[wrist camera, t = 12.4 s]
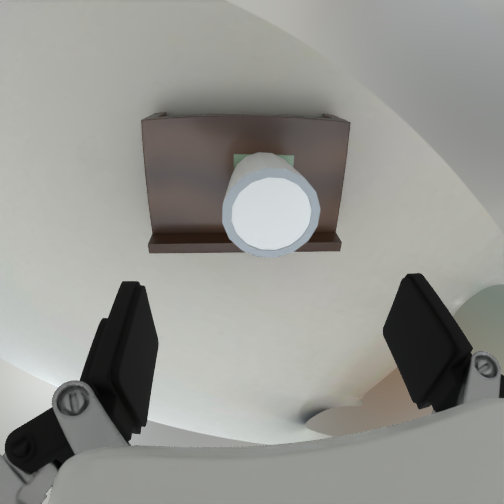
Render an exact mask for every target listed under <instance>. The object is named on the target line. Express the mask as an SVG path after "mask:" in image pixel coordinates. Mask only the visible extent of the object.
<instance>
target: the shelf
mask: <svg viewBox="0 0 504 504" xmlns="http://www.w3.org/2000/svg"><path fill="white" fill-rule="evenodd" d="M141 124H142V140H143V153H144V164H145V175H146V185H147V194H148V203H149V211H150V219H151V226H152V233H153V234H152V236H151V239H150V241H149V243H148V247H149V253H223V252H245V251H242V250H241V249H240V248H239V247H238V246H236V245H235V244H234V243H233V242H232V241H231V240H230V239H229V237H228V235H227V233H226V230H225V228H224V226H223V223H222V210H223V202H224V199H225V195H226V192H227V189H228V185H229V182H230V179H231V176H232V173H233V171H234V169H235V167H236V165H237V164H238V163H239V162H240V161H242V160H243V159H244V158H245V157H246V156H249V155H252V154H255V153H258V152H265V153H273V154H275V155H277V156H279V157H281V158H283V159H284V160H285V161H286V162H288V163H289V164H290V165H291V166H292V167H293V168H294V169H295V170H296V171H298V172H299V173H300V174H301V175H302V176H303V177H304V178H305V179H306V180H307V181H308V183H309V184H310V185H311V186H312V187H313V189H314V190H315V191H316V193H317V197H318V201H319V205H320V209H321V210H320V215H319V221H318V226H317V228H316V229H315V231H314V233H313V234H312V236H311V237H310V239H309V240H308V241H307V242H306V243H305V244H303V245H302V246H301V247H299V248H298V249H297V250H295V251H294V252H313V251H340V248H341V243H342V242H341V241H340V239H339V237H338V235H337V234H336V233H335V232H336V227H337V220H338V214H339V208H340V201H341V194H342V187H343V180H344V173H345V165H346V157H347V149H348V140H349V131H350V122H348V121H346V120H344V119H341V118H339V117H337V116H334V115H329V114H323V117H322V118H317V117H304V116H288V115H263V114H207V115H182V116H166V113H165V112H164V113H155V114H153V115H151V116H149V117H147V118H145V119H143V120H141Z"/></svg>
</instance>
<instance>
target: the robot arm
mask: <svg viewBox="0 0 504 504" xmlns="http://www.w3.org/2000/svg"><path fill="white" fill-rule="evenodd" d="M383 336H384V338H385V340H386V342H387V344H388V347H389V349H390V351H391V353H392V355H393V357H394V360H395V362H396V364H397V366H398V368H399V371H400V373H401V375H402V378H403V380H404V382H405V384H406V387H407V389H408V392H409V394H410V396H411V399H412V401H413V402H414V403H416V404H417V406H418V409H422V408H425V407H429V406H430V405H432V407H433V411H432V414H431V415H427V416H424V417H421V418H417V419H414V420H411V421H407V422H403V423H400V424H396V425H392V426H387V427H383V428H379V429H374V430H371V431H365V432H360V433H355V434H350V435H345V436H339V437H333V438H327V439H320V440H313V441H306V442H297V443H288V444H278V445H265V446H249V447H213V448H212V447H211V448H210V447H207V448H206V447H204V448H199V447H197V448H194V447H164V446H137V445H136V446H131V444H130V443H129V442H128V441H129V440H131V435H132V433H134V434H140V432H141V426H143V427H145V426H146V423H147V416H148V409H149V402H150V395H151V388H152V382H153V375H154V369H155V363H156V357H157V351H158V337H157V333H156V329H155V326H154V322H153V318H152V314H151V310H150V306H149V301H148V297H147V293H146V289H145V286H140V283H139V282H138V281H123V282H122V283H121V286H120V288H119V291H118V293H117V296H116V298H115V301H114V304H113V306H112V309H111V312H110V314H109V317H108V318H103V319H102V320H101V322H100V324H99V326H98V329H97V332H96V334H95V337H94V340H93V343H92V346H91V348H90V351H89V354H88V357H87V360H86V363H85V366H84V369H83V372H82V375H81V378H80V381H77V380H76V381H69V382H66V383H64V384H62V385H61V386H60V387H59V388H58V389H57V390H56V391H55V393H54V395H53V398H52V406H53V407H52V408H50V409H49V410H47V411H45V412H44V413H42V414H40V415H39V416H37V417H36V418H34V419H32V420H31V421H29V422H27V423H26V424H24V425H22V426H21V427H19V428H17V429H16V430H14V431H13V432H12V433H10V435H9V436H8V438H7V439H6V443H5V454H4V455H3V456H2V455H0V504H42V502H43V500H44V499H45V498H46V497H47V495H46V493H47V491H48V490H49V489H50V488H51V487H52V490H51V494H50V498H49V503H48V504H504V376H503V375H501V368H500V365H499V362H498V361H497V359H496V358H495V357H494V356H493V355H491V354H489V353H488V352H484V351H478V352H476V353H474V354H473V356H472V354H471V351H472V349H473V348H472V346H471V344H470V343H469V341H468V340H467V338H466V336H465V335H464V333H463V332H462V330H461V329H460V327H459V326H458V324H457V323H456V321H455V320H454V318H453V317H452V315H451V314H450V312H449V311H448V309H447V308H446V306H445V305H444V304H443V302H442V301H441V299H440V298H439V296H438V295H437V294H436V292H435V291H434V290H433V288H432V287H431V285H430V284H429V283H428V281H427V280H426V279H425V277H424V276H423V275H422V274H420V273H416V274H407V275H406V276H405V278H403V279H402V281H401V283H400V286H399V289H398V292H397V294H396V297H395V300H394V302H393V305H392V307H391V310H390V312H389V315H388V317H387V320H386V322H385V325H384V327H383Z"/></svg>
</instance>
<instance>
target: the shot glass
mask: <svg viewBox="0 0 504 504" xmlns="http://www.w3.org/2000/svg"><path fill="white" fill-rule="evenodd" d="M320 210H321V209H320V205H319V201H318V197H317V193H316V191H315V190H314V189H313V187H312V186H311V185H310V184H309V183H308V181H307V180H306V179H305V178H304V177H303V176H302V175H301V174H300V173H299V172H298V171H296V170H295V169H294V168H293V167H292V166H291V165H290V164H289V163H288V162H286V161H285V160H284V159H283V158H281V157H279V156H277V155H275V154H273V153H265V152H258V153H255V154H252V155H249V156H246V157H245V158H244V159H243V160H242V161H240V162H239V163H238V164H237V165H236V167H235V169H234V171H233V173H232V176H231V179H230V182H229V185H228V189H227V192H226V195H225V199H224V202H223V210H222V223H223V226H224V228H225V230H226V233H227V235H228V237H229V239H230V240H231V241H232V242H233V243H234V244H235V245H236V246H238V247H239V248H240V249H241V250H242V251H245V252H247V253H250V254H252V255H255V256H257V257H279V256H282V255H285V254H288V253H291V252H294V251H295V250H297V249H298V248H299V247H301V246H302V245H303V244H305V243H306V242H307V241H308V240H309V239H310V237H311V236H312V234H313V233H314V231H315V229H316V228H317V226H318V221H319V215H320Z"/></svg>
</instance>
